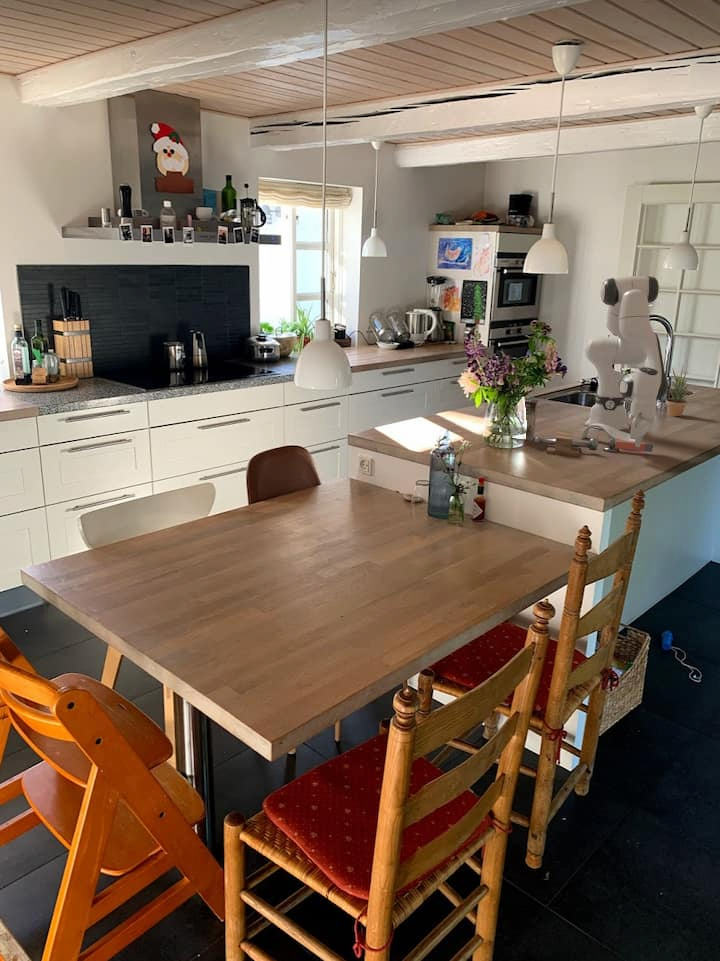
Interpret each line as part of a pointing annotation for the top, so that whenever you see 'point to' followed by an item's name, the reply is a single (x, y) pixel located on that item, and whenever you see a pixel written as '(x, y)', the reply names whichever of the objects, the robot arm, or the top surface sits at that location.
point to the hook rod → (591, 445)
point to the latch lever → (633, 446)
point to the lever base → (611, 447)
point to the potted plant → (677, 396)
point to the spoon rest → (609, 433)
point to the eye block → (563, 445)
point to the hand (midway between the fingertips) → (638, 446)
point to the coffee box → (530, 417)
